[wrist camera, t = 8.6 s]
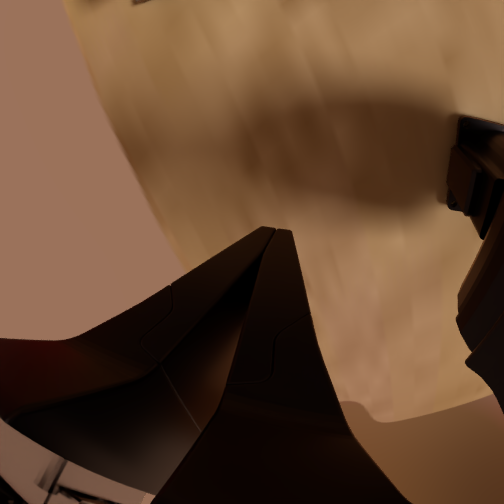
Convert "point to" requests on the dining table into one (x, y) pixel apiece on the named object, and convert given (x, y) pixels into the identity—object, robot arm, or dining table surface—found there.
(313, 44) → the dining table surface
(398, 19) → the dining table surface
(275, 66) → the dining table surface
